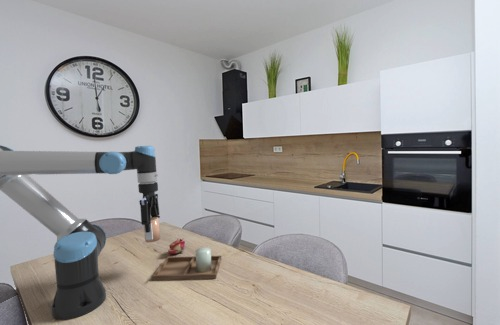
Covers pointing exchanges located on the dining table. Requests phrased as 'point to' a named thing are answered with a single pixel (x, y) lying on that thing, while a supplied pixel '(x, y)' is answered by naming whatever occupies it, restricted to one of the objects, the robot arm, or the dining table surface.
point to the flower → (177, 247)
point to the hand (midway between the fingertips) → (152, 236)
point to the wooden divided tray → (185, 269)
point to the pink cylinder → (154, 230)
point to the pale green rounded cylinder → (203, 259)
